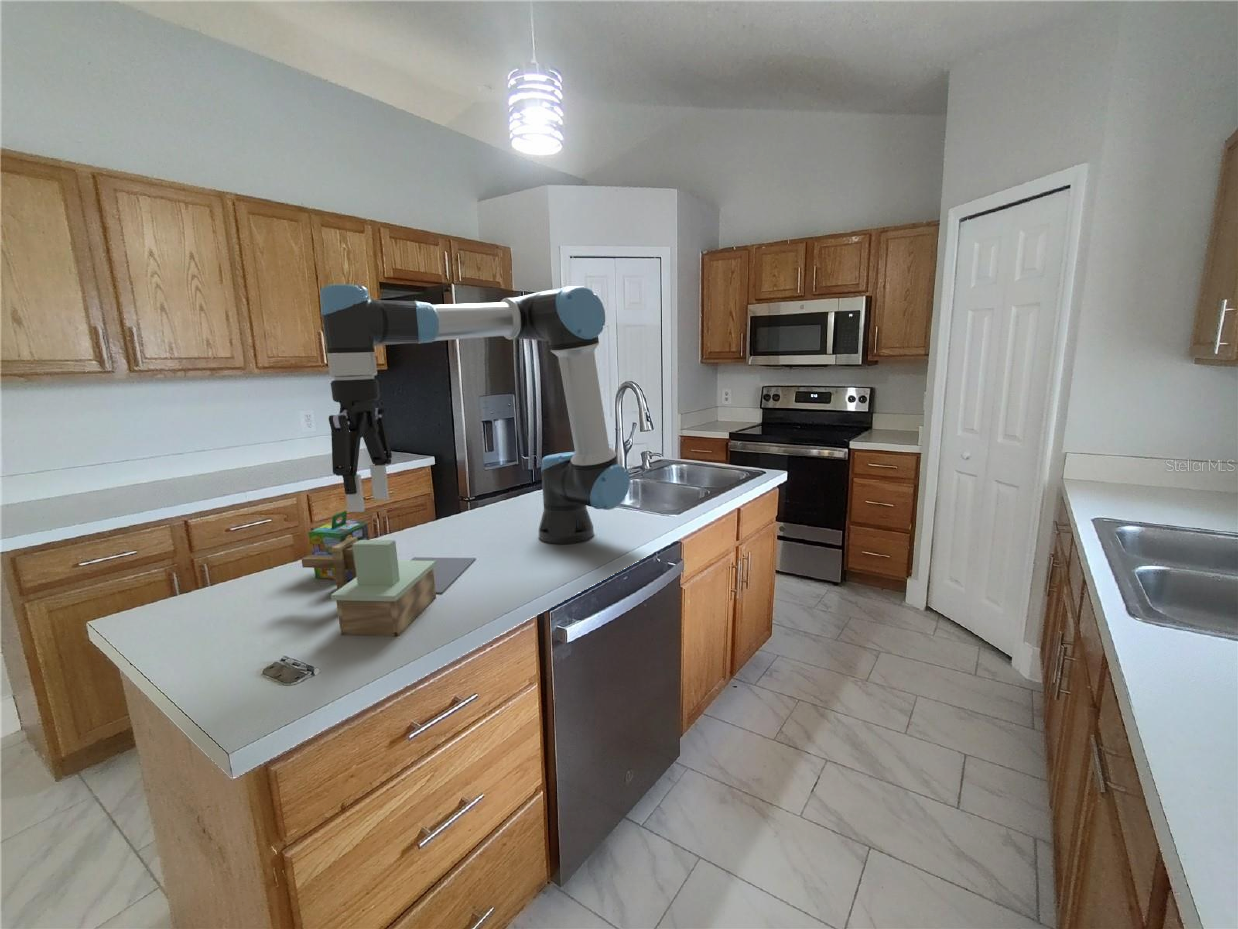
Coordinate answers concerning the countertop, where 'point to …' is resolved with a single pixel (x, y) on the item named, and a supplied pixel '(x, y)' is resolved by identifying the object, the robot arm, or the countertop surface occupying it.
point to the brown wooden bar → (329, 560)
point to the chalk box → (334, 539)
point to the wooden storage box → (379, 603)
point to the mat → (446, 570)
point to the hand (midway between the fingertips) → (369, 504)
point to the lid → (381, 573)
